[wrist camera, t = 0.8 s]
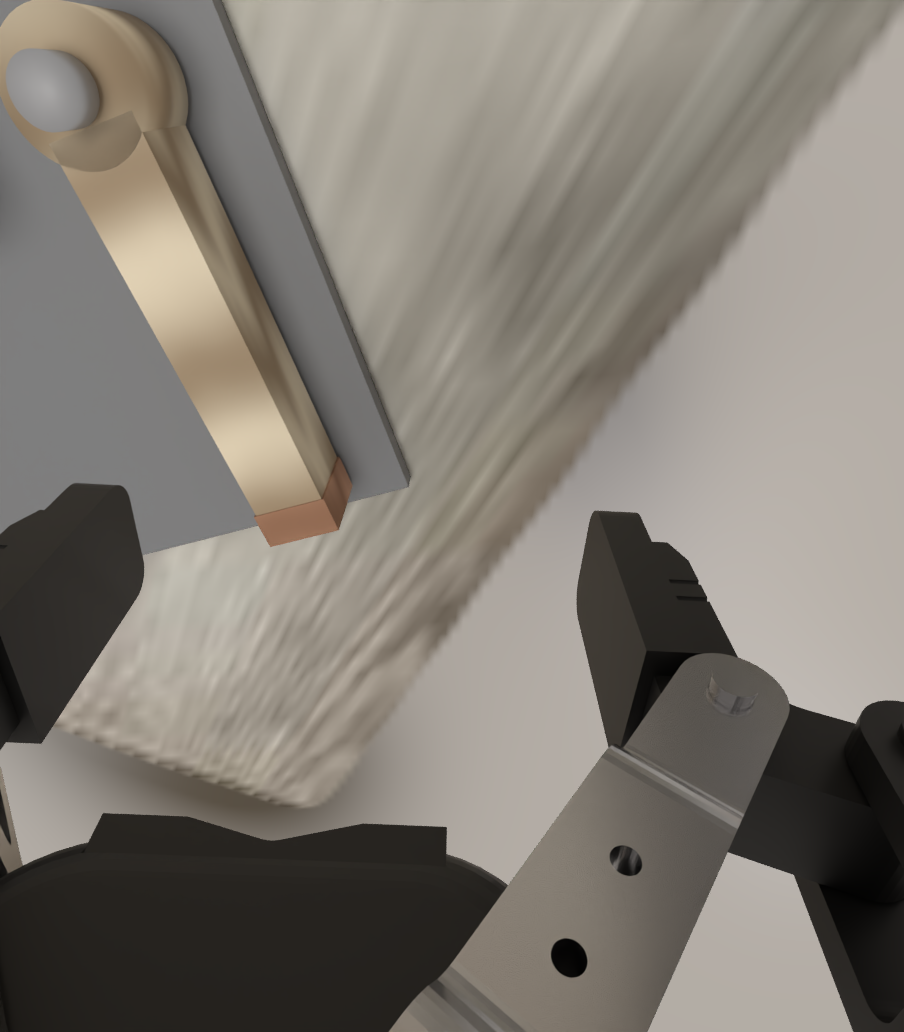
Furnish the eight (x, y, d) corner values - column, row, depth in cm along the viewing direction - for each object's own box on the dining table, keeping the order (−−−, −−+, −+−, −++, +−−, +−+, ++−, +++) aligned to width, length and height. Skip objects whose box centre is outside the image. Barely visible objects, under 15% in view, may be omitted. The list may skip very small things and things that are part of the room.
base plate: (148, -182, 21) (27, -275, 15) (410, 476, 33) (396, 556, 27) (-369, 77, 25) (-608, 78, 19) (34, 573, 37) (-43, 659, 32)
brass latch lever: (31, 38, 23) (-40, 31, 19) (145, -13, 22) (89, -28, 19) (279, 504, 32) (257, 549, 29) (364, 482, 32) (351, 526, 28)
